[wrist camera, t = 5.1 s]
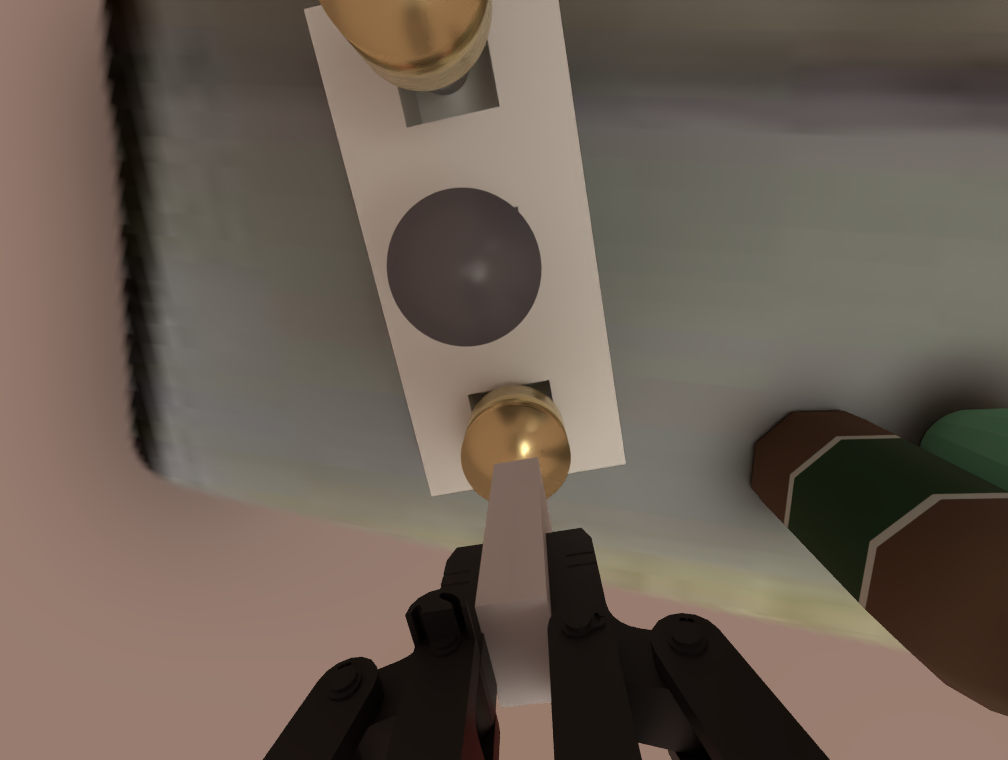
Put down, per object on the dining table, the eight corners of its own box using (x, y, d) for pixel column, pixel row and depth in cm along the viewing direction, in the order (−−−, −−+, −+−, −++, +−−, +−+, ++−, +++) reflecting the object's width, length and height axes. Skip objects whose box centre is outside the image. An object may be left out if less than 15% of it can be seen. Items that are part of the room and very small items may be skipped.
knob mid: (421, 219, 22) (368, 205, 14) (523, 198, 21) (526, 172, 14) (445, 320, 23) (408, 359, 15) (541, 301, 23) (553, 331, 15)
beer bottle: (727, 433, 30) (1414, 1048, 7) (854, 383, 29) (2153, 916, 6) (765, 534, 32) (1410, 1292, 9) (885, 491, 31) (1978, 1222, 8)
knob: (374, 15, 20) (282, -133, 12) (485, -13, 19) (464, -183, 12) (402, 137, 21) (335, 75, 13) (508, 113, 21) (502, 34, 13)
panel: (352, 63, 25) (303, 9, 20) (543, 16, 25) (550, -54, 19) (447, 449, 31) (431, 496, 25) (604, 421, 30) (625, 463, 24)
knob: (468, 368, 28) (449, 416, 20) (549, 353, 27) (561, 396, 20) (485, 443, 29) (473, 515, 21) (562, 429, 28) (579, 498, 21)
